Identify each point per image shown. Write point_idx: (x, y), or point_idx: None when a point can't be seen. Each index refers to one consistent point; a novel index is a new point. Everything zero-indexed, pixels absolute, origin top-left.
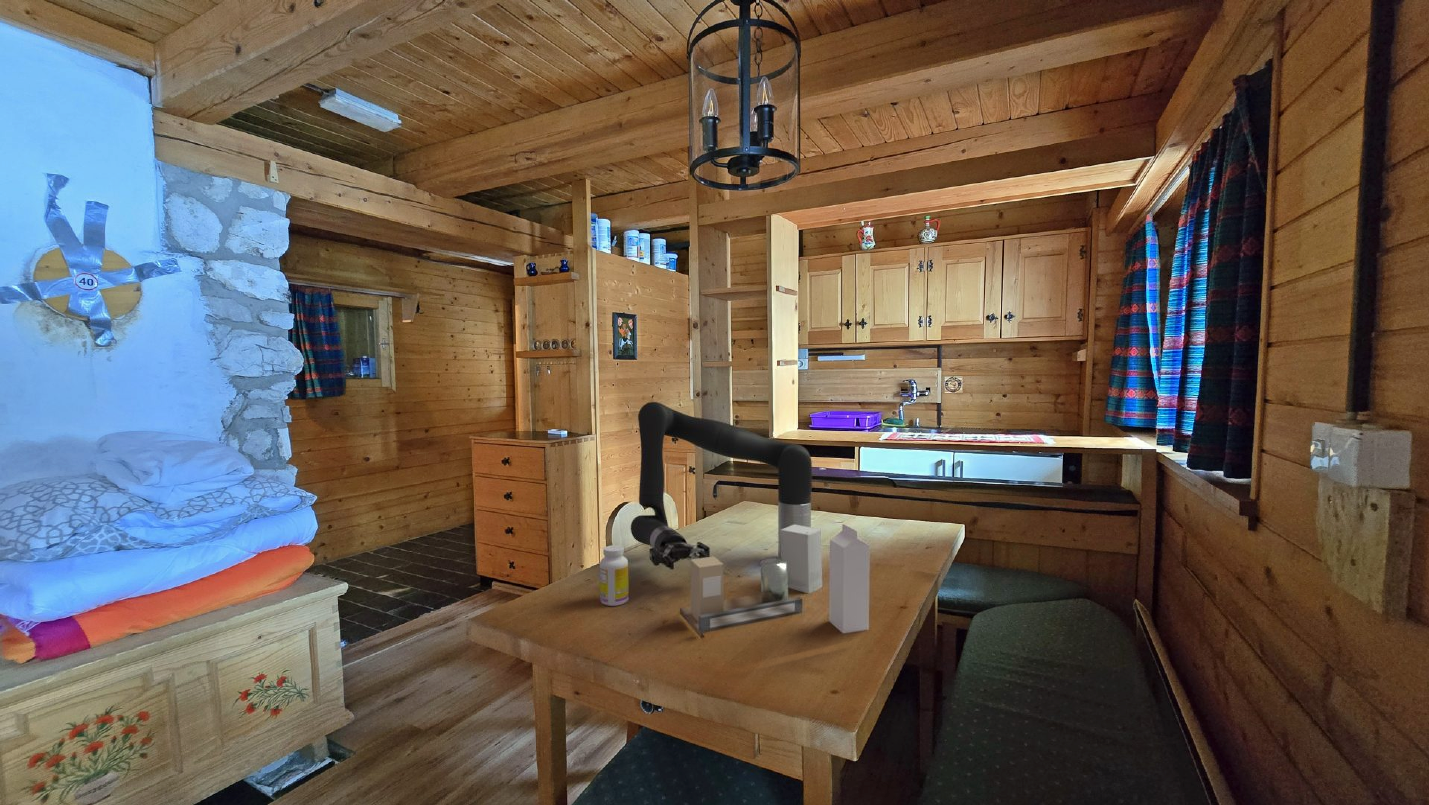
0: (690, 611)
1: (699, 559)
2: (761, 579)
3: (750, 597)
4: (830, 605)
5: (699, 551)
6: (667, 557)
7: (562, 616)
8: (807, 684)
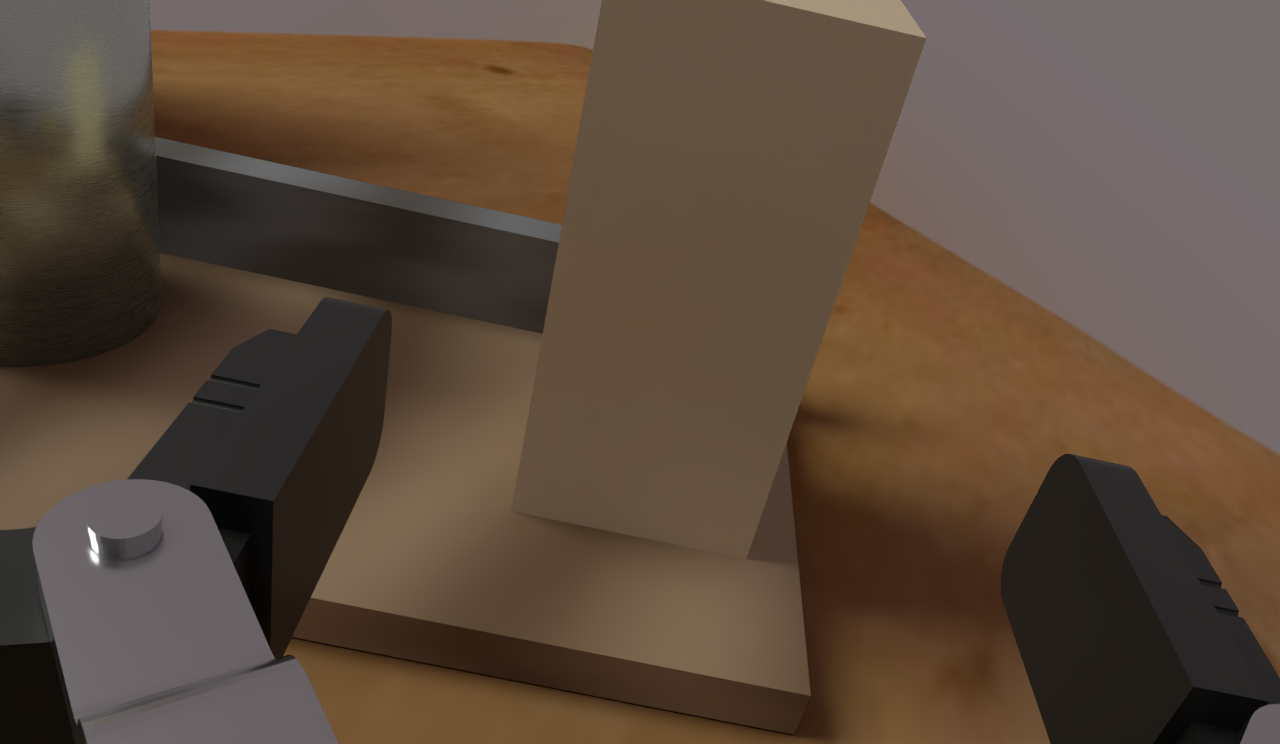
0: (735, 582)
1: (816, 3)
2: (124, 91)
3: None
4: None
5: (275, 501)
6: (1211, 610)
7: None
8: (544, 103)
